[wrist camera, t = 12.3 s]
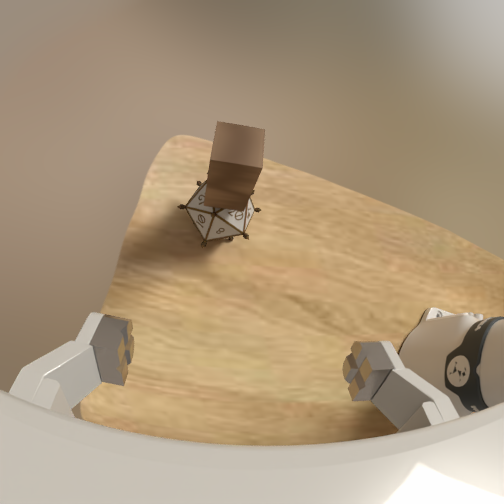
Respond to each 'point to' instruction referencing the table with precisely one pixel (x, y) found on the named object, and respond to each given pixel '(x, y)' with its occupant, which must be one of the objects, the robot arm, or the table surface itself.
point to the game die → (217, 217)
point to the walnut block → (234, 166)
